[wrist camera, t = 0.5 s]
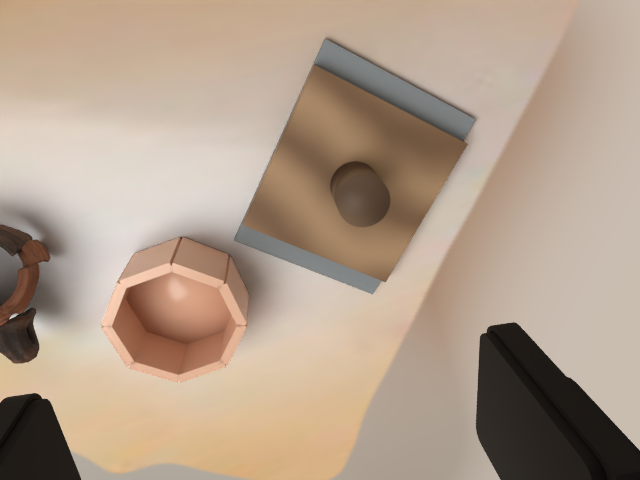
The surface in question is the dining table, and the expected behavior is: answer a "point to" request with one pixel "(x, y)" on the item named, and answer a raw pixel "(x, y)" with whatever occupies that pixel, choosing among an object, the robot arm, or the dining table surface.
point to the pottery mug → (21, 297)
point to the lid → (351, 176)
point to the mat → (391, 92)
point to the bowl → (177, 310)
